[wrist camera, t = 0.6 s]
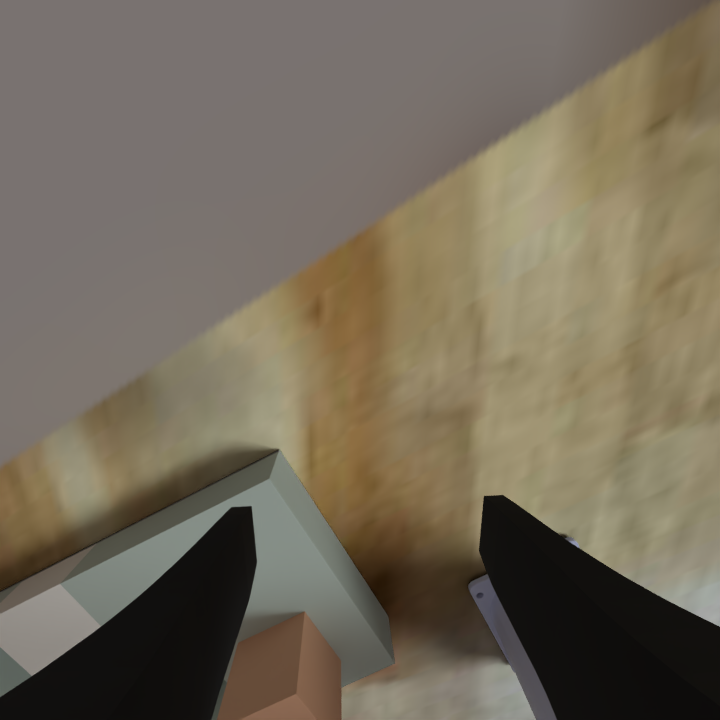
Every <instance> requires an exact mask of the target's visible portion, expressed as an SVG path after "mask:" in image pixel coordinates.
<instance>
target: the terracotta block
mask: <svg viewBox="0 0 720 720" xmlns="http://www.w3.org/2000/svg"><path fill="white" fill-rule="evenodd" d="M217 720H341V660H340V658H339V657H338V656H337V654H336V653H335V652H334V650H333V649H332V648H331V646H330V645H329V644H328V642H327V641H326V640H325V638H324V637H323V635H322V634H321V633H320V631H319V630H318V629H317V627H316V626H315V625H314V623H313V622H312V621H311V619H310V618H309V617H308V615H307V614H306V612H305V611H304V612H302V613H300V614H298V615H296V616H294V617H292V618H290V619H288V620H285V621H283V622H281V623H279V624H277V625H275V626H273V627H271V628H268V629H266V630H264V631H262V632H260V633H258V634H256V635H254V636H252V637H249V638H247V639H245V640H243V641H241V642H239V643H238V645H237V648H236V652H235V655H234V659H233V663H232V666H231V670H230V674H229V677H228V681H227V685H226V688H225V692H224V695H223V699H222V703H221V706H220V710H219V714H218V717H217Z"/></svg>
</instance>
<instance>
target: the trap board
mask: <svg viewBox="0 0 720 720" xmlns="http://www.w3.org/2000/svg"><path fill="white" fill-rule="evenodd" d="M242 506H252V514H253V524H254V534H255V545H256V555H257V566H256V571H255V576H254V581H253V585H252V590H251V595H250V599H249V602H248V606H247V609H246V612H245V615H244V618H243V621H242V624H241V628H240V631H239V634H238V637H237V640H236V643H235V646H234V649H233V652H232V655H231V658H230V661H229V664H228V668H227V671H226V674H225V677H224V680H223V683H222V686H221V689H220V692H219V695H218V699H217V702H216V706H215V709H214V713H213V716H212V720H217V717H218V714H219V710H220V706H221V703H222V699H223V695H224V692H225V688H226V685H227V681H228V677H229V674H230V670H231V666H232V663H233V659H234V655H235V652H236V648H237V645H238V643H239V642H241V641H243V640H245V639H247V638H249V637H252V636H254V635H256V634H258V633H260V632H262V631H264V630H266V629H268V628H271V627H273V626H275V625H277V624H279V623H281V622H283V621H285V620H288V619H290V618H292V617H294V616H296V615H298V614H300V613H302V612H304V611H305V612H306V614H307V615H308V617H309V618H310V619H311V621H312V622H313V623H314V625H315V626H316V627H317V629H318V630H319V631H320V633H321V634H322V635H323V637H324V638H325V640H326V641H327V642H328V644H329V645H330V646H331V648H332V649H333V650H334V652H335V653H336V654H337V656H338V657H339V658H340V660H341V688H342V687H344V686H346V685H348V684H350V683H353V682H355V681H357V680H359V679H361V678H364V677H366V676H368V675H370V674H372V673H375V672H377V671H379V670H381V669H383V668H386V667H388V666H390V665H392V664H395V659H394V652H393V646H392V639H391V632H390V625H389V618H388V615H387V614H386V612H385V611H384V609H383V607H382V606H381V604H380V603H379V601H378V600H377V598H376V597H375V595H374V594H373V592H372V591H371V589H370V588H369V586H368V584H367V583H366V581H365V580H364V578H363V577H362V575H361V574H360V572H359V571H358V569H357V568H356V566H355V565H354V563H353V562H352V560H351V558H350V557H349V555H348V554H347V552H346V551H345V549H344V548H343V546H342V545H341V543H340V542H339V540H338V539H337V537H336V535H335V534H334V532H333V531H332V529H331V528H330V526H329V525H328V523H327V522H326V520H325V519H324V517H323V516H322V514H321V513H320V511H319V509H318V508H317V506H316V505H315V503H314V502H313V500H312V499H311V497H310V496H309V494H308V493H307V491H306V490H305V488H304V486H303V485H302V483H301V482H300V480H299V479H298V477H297V476H296V474H295V473H294V471H293V470H292V468H291V467H290V465H289V463H288V462H287V460H286V459H285V457H284V456H283V454H282V453H281V451H280V450H278V451H276V452H274V453H272V454H270V455H268V456H266V457H264V458H262V459H260V460H258V461H256V462H254V463H252V464H250V465H248V466H246V467H244V468H242V469H240V470H238V471H236V472H234V473H232V474H230V475H228V476H226V477H224V478H222V479H221V480H219V481H217V482H215V483H213V484H211V485H209V486H207V487H205V488H203V489H201V490H199V491H197V492H195V493H193V494H191V495H189V496H187V497H185V498H183V499H181V500H179V501H177V502H175V503H173V504H171V505H169V506H167V507H165V508H163V509H161V510H159V511H157V512H155V513H153V514H152V515H150V516H148V517H146V518H144V519H142V520H140V521H138V522H136V523H134V524H132V525H130V526H128V527H126V528H124V529H122V530H120V531H118V532H116V533H114V534H112V535H110V536H108V537H106V538H104V539H102V540H100V541H98V542H96V543H94V544H92V545H90V546H88V547H86V548H84V549H83V550H81V551H79V552H77V553H75V554H73V555H71V556H69V557H67V558H65V559H63V560H61V561H59V562H57V563H55V564H53V565H51V566H49V567H47V568H45V569H43V570H41V571H39V572H37V573H35V574H33V575H31V576H29V577H27V578H25V579H23V580H21V581H19V582H17V583H16V584H14V585H12V586H10V587H8V588H6V589H4V590H2V591H0V697H1V696H2V695H4V694H6V693H7V692H9V691H10V690H12V689H13V688H15V687H16V686H18V685H19V684H21V683H22V682H24V681H25V680H27V679H28V678H30V677H31V676H33V675H34V674H36V673H37V672H39V671H40V670H42V669H43V668H44V667H46V666H47V665H49V664H50V663H51V662H53V661H54V660H56V659H57V658H58V657H60V656H61V655H63V654H64V653H65V652H67V651H68V650H70V649H71V648H72V647H74V646H75V645H76V644H78V643H79V642H81V641H82V640H83V639H85V638H86V637H88V636H89V635H90V634H92V633H93V632H94V631H96V630H97V629H98V628H100V627H101V626H102V625H104V624H105V623H106V622H107V621H109V620H110V619H111V618H112V617H114V616H115V615H116V614H117V613H119V612H120V611H121V610H123V609H124V608H125V607H126V606H127V605H129V604H130V603H131V602H132V601H133V600H135V599H136V598H137V597H138V596H139V595H141V594H142V593H143V592H144V591H145V590H146V589H148V588H149V587H150V586H151V585H152V584H153V583H154V582H155V581H156V580H157V579H159V578H160V577H161V576H162V575H163V574H164V573H165V572H166V571H167V570H168V569H169V568H171V567H172V566H173V565H174V564H175V563H176V562H177V561H178V560H179V559H180V558H181V557H182V556H183V555H184V554H185V553H186V552H187V551H188V550H189V549H190V548H191V547H192V546H193V545H194V544H195V543H196V542H197V541H198V540H199V539H200V538H201V537H202V536H203V535H204V534H205V533H206V532H207V531H208V530H209V529H210V528H211V527H212V526H213V525H214V524H215V523H216V522H217V521H218V520H219V519H220V518H221V517H222V516H223V515H224V514H225V513H226V512H227V511H228V510H229V509H230V508H231V507H242Z"/></svg>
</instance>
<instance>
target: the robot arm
mask: <svg viewBox="0 0 720 720" xmlns="http://www.w3.org/2000/svg"><path fill="white" fill-rule="evenodd" d="M479 552H480V555H481V558H482V560H483V563H484V566H485V569H486V571H487V574H486V575H484V576H482V577H480V578H478V579H475V580H473V581H472V582H470V583H469V585H468V589H469V591H470V593H471V595H472V597H473V599H474V601H475V602H476V604H477V606H478V608H479V610H480V612H481V613H482V615H483V617H484V619H485V621H486V622H487V624H488V626H489V628H490V630H491V632H492V633H493V635H494V637H495V639H496V641H497V642H498V644H499V646H500V648H501V650H502V651H503V653H504V655H505V657H506V659H507V661H508V662H509V664H510V666H511V668H512V670H513V671H514V672H515V673H516V675H517V678H518V680H519V682H520V684H521V687H522V689H523V691H524V693H525V696H526V698H527V700H528V702H529V705H530V707H531V709H532V711H533V714H534V716H535V718H536V720H720V627H719V626H717V625H715V624H713V623H711V622H709V621H707V620H705V619H703V618H701V617H699V616H697V615H695V614H693V613H691V612H689V611H687V610H685V609H683V608H681V607H679V606H677V605H675V604H673V603H671V602H669V601H667V600H665V599H663V598H661V597H660V596H658V595H656V594H654V593H652V592H651V591H649V590H647V589H645V588H644V587H642V586H640V585H638V584H636V583H635V582H633V581H631V580H629V579H628V578H626V577H624V576H622V575H621V574H619V573H617V572H616V571H614V570H612V569H611V568H609V567H608V566H606V565H604V564H603V563H601V562H600V561H598V560H597V559H595V558H593V557H592V556H590V555H589V554H587V553H586V552H584V551H583V550H581V549H580V548H579V545H578V543H577V542H576V541H575V540H574V539H573V538H572V537H567V538H563V537H562V536H560V535H559V534H558V533H556V532H555V531H553V530H552V529H550V528H549V527H548V526H546V525H545V524H543V523H542V522H541V521H539V520H538V519H536V518H535V517H534V516H532V515H531V514H529V513H528V512H527V511H525V510H524V509H522V508H521V507H520V506H518V505H517V504H515V503H514V502H513V501H511V500H510V499H508V498H506V497H505V496H503V495H496V496H484V501H483V512H482V523H481V534H480V546H479ZM256 566H257V555H256V545H255V534H254V524H253V514H252V506H242V507H231V508H230V509H229V510H228V511H227V512H226V513H225V514H224V515H223V516H222V517H221V518H220V519H219V520H218V521H217V522H216V523H215V524H214V525H213V526H212V527H211V528H210V529H209V530H208V531H207V532H206V533H205V534H204V535H203V536H202V537H201V538H200V539H199V540H198V541H197V542H196V543H195V544H194V545H193V546H192V547H191V548H190V549H189V550H188V551H187V552H186V553H185V554H184V555H183V556H182V557H181V558H180V559H179V560H178V561H177V562H176V563H175V564H174V565H173V566H172V567H171V568H169V569H168V570H167V571H166V572H165V573H164V574H163V575H162V576H161V577H160V578H159V579H157V580H156V581H155V582H154V583H153V584H152V585H151V586H150V587H149V588H148V589H146V590H145V591H144V592H143V593H142V594H141V595H139V596H138V597H137V598H136V599H135V600H133V601H132V602H131V603H130V604H129V605H127V606H126V607H125V608H124V609H123V610H121V611H120V612H119V613H117V614H116V615H115V616H114V617H112V618H111V619H110V620H109V621H107V622H106V623H105V624H104V625H102V626H101V627H100V628H98V629H97V630H96V631H94V632H93V633H92V634H90V635H89V636H88V637H86V638H85V639H83V640H82V641H81V642H79V643H78V644H76V645H75V646H74V647H72V648H71V649H70V650H68V651H67V652H65V653H64V654H63V655H61V656H60V657H58V658H57V659H56V660H54V661H53V662H51V663H50V664H49V665H47V666H46V667H44V668H43V669H42V670H40V671H39V672H37V673H36V674H34V675H33V676H31V677H30V678H28V679H27V680H25V681H24V682H22V683H21V684H19V685H18V686H16V687H15V688H13V689H12V690H10V691H9V692H7V693H6V694H4V695H2V696H1V697H0V720H212V716H213V713H214V709H215V706H216V702H217V699H218V695H219V692H220V689H221V686H222V683H223V680H224V677H225V674H226V671H227V668H228V664H229V661H230V658H231V655H232V652H233V649H234V646H235V643H236V640H237V637H238V634H239V631H240V628H241V624H242V621H243V618H244V615H245V612H246V609H247V606H248V602H249V599H250V595H251V590H252V585H253V581H254V576H255V571H256Z"/></svg>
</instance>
